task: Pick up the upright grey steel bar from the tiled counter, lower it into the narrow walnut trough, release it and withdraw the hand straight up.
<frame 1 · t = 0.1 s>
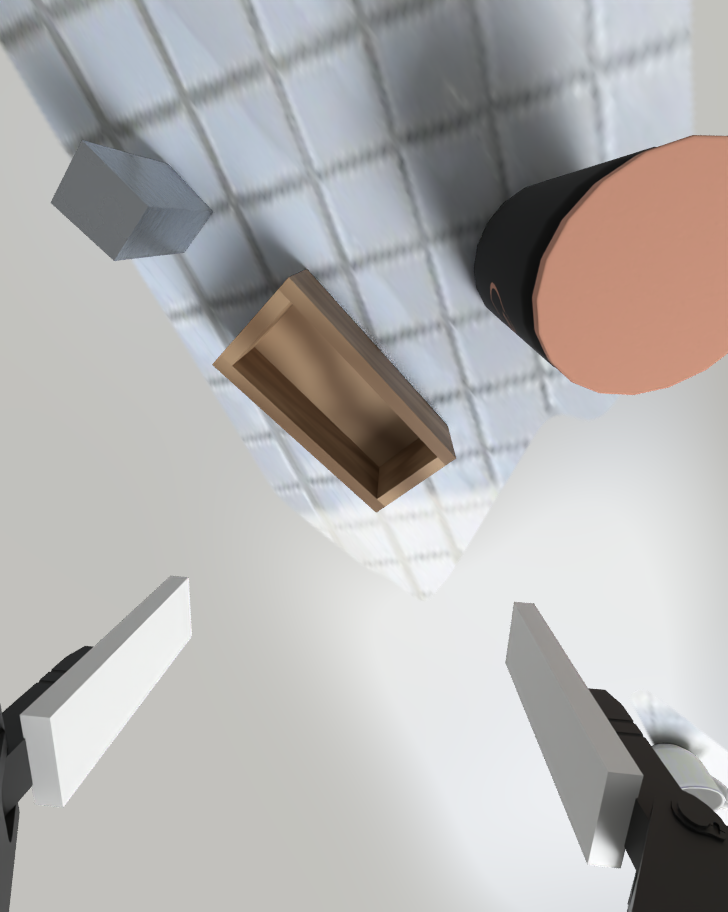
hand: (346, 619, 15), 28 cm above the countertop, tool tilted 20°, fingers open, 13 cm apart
steel bar: (176, 210, 33), on the countertop
teacup: (668, 751, 72), on the countertop
trough: (347, 386, 40), on the countertop
coffee jar: (534, 258, 33), on the countertop
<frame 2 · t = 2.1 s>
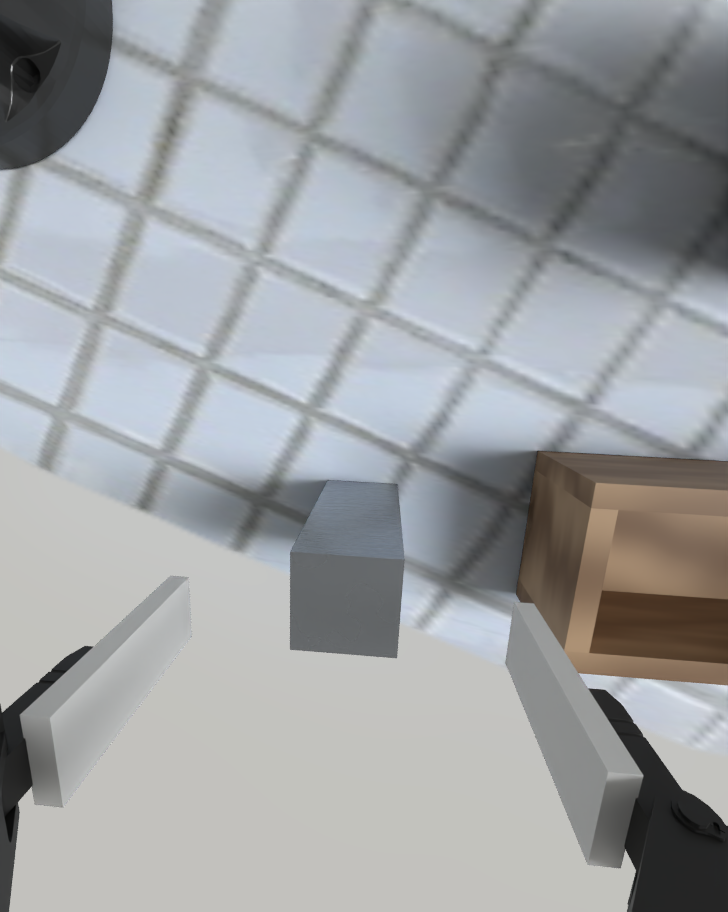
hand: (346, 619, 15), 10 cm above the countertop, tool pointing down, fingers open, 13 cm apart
steel bar: (361, 514, 25), on the countertop
trough: (691, 536, 24), on the countertop
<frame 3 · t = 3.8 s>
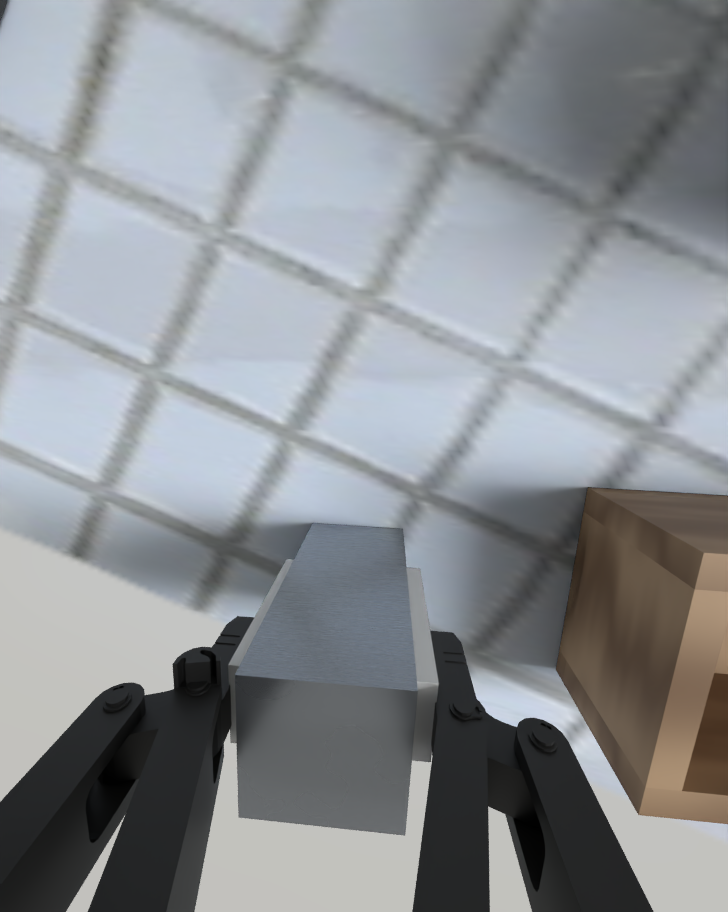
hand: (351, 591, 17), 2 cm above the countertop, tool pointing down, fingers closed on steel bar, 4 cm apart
steel bar: (355, 567, 20), on the countertop, touching gripper
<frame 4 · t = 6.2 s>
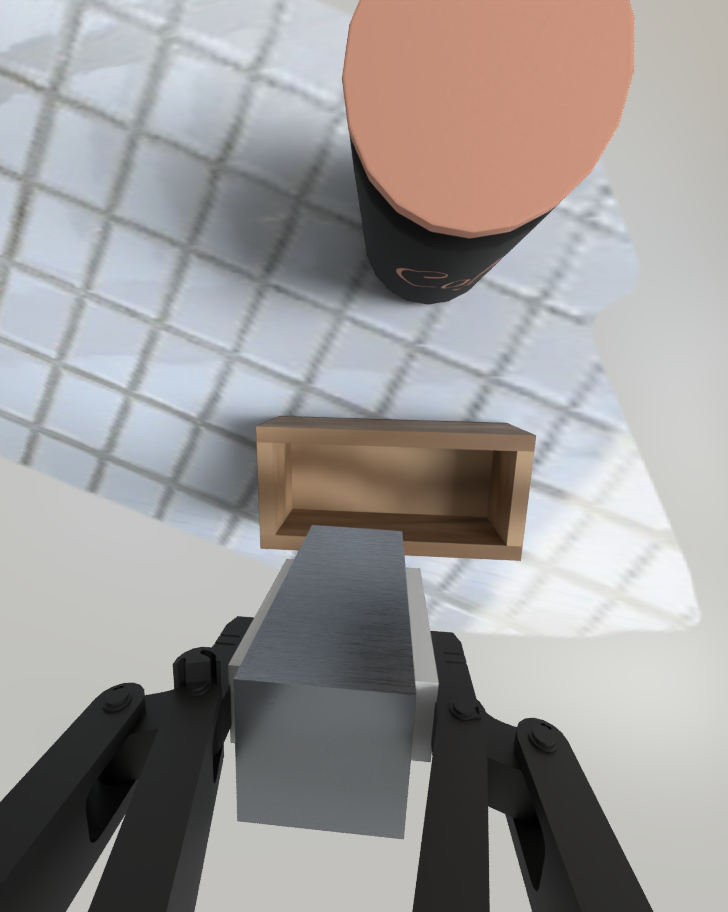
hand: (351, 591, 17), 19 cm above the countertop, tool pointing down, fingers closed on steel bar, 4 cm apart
steel bar: (354, 569, 20), point 17 cm above the countertop, touching gripper
trough: (389, 472, 36), on the countertop
coffee jar: (429, 238, 32), on the countertop
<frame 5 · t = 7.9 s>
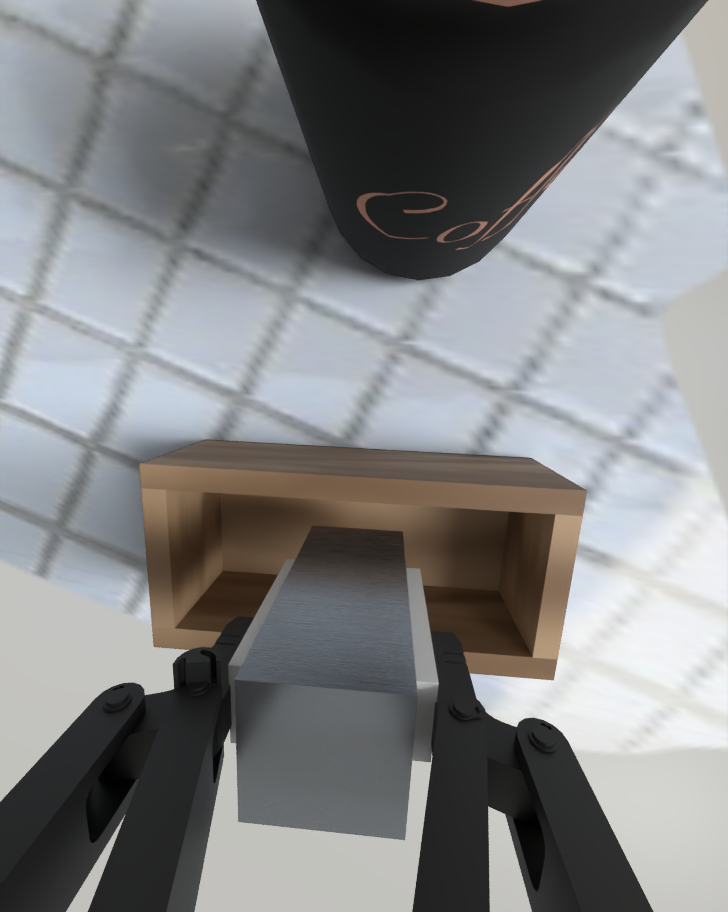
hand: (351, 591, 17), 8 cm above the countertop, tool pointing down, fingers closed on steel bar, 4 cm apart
steel bar: (355, 569, 20), point 6 cm above the countertop, touching gripper
trough: (361, 522, 25), on the countertop
coffee jar: (423, 182, 21), on the countertop
when the fingers open (7 cm above the countertop, at t = 8.8 s): steel bar drops 4 cm, resting on trough.
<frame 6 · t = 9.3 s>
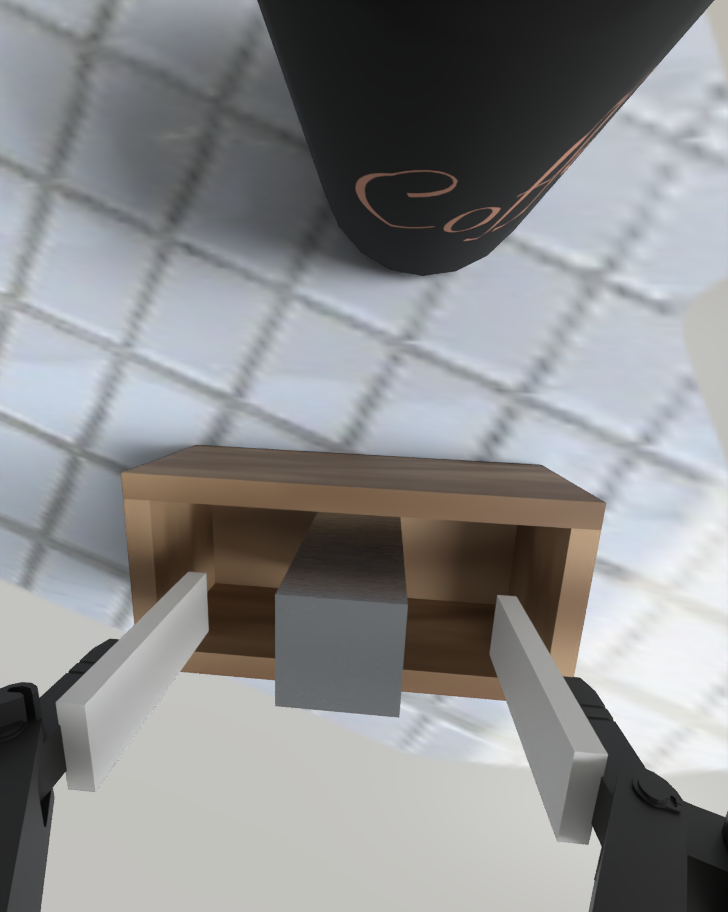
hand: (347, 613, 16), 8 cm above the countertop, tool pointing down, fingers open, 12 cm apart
steel bar: (359, 538, 23), point 1 cm above the countertop, touching trough
trough: (361, 532, 24), on the countertop
coffee jar: (427, 171, 20), on the countertop
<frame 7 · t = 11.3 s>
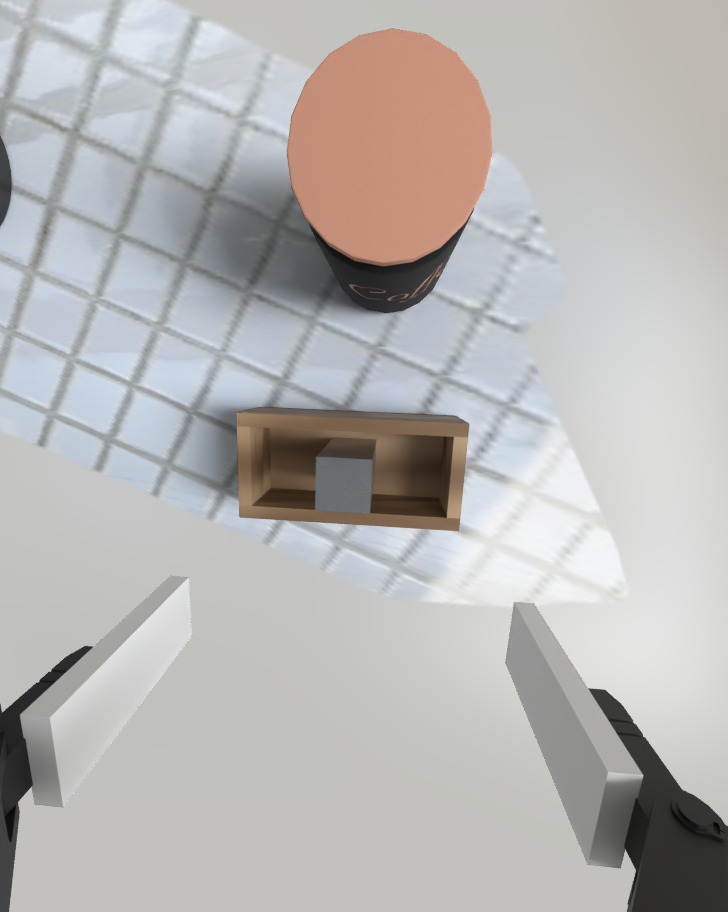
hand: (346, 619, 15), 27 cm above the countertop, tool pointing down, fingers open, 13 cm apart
steel bar: (354, 459, 41), point 1 cm above the countertop, touching trough
trough: (355, 457, 42), on the countertop
coffee jar: (388, 257, 38), on the countertop
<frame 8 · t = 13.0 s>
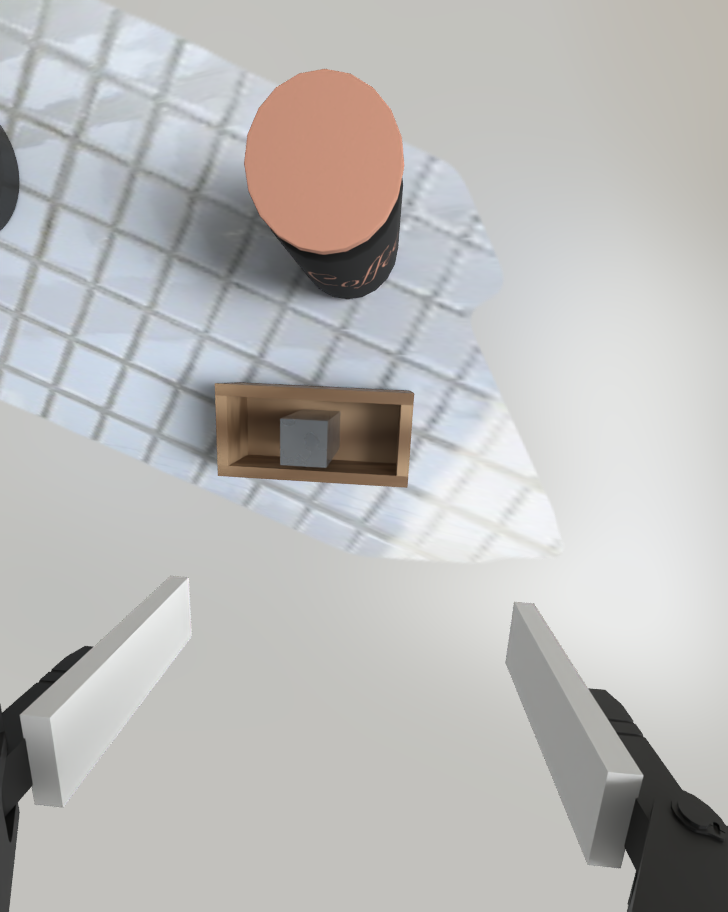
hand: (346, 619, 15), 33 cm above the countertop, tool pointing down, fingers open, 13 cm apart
steel bar: (321, 428, 46), point 1 cm above the countertop, touching trough
trough: (322, 427, 47), on the countertop
coffee jar: (349, 250, 43), on the countertop
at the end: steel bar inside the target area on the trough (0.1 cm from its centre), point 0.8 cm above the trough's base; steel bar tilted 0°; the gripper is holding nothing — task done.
